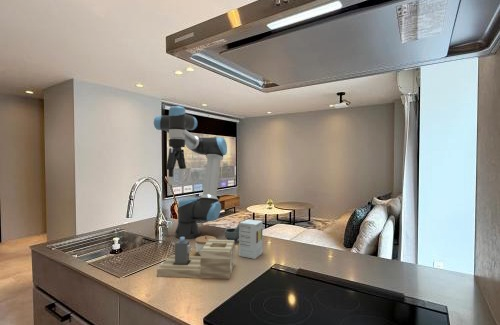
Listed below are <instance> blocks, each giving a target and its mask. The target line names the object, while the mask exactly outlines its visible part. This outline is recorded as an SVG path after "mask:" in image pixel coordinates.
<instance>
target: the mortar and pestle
mask: <svg viewBox="0 0 500 325" xmlns="http://www.w3.org/2000/svg"><path fill="white" fill-rule="evenodd" d="M240 222H241V221H240ZM240 222H239V223H240ZM239 223H238V225H237V227H236V228H234V227H233V228H226V229H224V236H225V238H226V239H225V240H234V245H235V244H239Z"/></svg>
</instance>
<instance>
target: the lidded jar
mask: <svg viewBox="0 0 500 325" xmlns="http://www.w3.org/2000/svg"><path fill="white" fill-rule="evenodd" d="M208 240H217V238H216V237H215V236H212V235H203V236H202V235H201V236H197V237H195V239H194V241H195V250H196V252H197V253H198V254H199V256H201V249H202V248H203V247H204V245H205V244H206V243H207V241H208Z"/></svg>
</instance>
